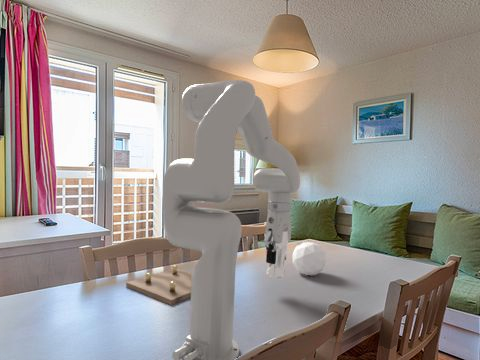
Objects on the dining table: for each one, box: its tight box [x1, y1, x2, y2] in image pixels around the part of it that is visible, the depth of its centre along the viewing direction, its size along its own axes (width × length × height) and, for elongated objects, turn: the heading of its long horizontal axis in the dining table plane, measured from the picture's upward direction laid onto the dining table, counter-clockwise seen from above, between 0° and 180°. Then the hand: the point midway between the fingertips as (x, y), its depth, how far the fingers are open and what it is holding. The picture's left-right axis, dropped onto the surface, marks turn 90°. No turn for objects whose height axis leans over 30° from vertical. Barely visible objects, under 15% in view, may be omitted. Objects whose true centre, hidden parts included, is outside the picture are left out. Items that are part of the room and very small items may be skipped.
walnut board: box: [125, 264, 192, 306], centre depth 108 cm, size 22×22×4 cm
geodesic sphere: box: [291, 240, 327, 276], centre depth 127 cm, size 14×14×14 cm
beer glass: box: [265, 231, 289, 279], centre depth 104 cm, size 7×7×15 cm
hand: (276, 260), depth 104 cm, fingers closed on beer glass, 6 cm apart
